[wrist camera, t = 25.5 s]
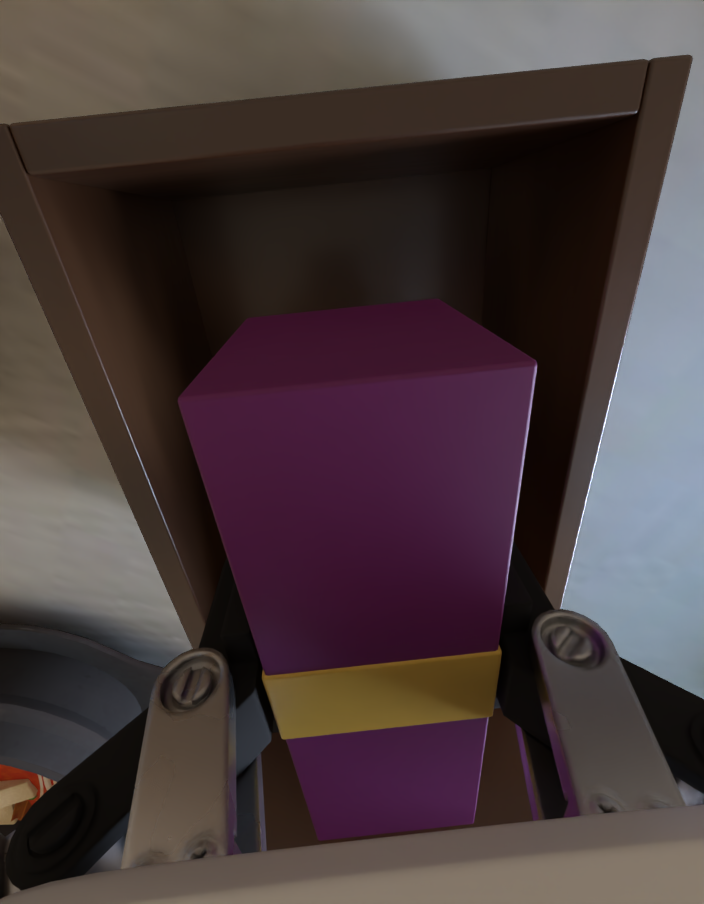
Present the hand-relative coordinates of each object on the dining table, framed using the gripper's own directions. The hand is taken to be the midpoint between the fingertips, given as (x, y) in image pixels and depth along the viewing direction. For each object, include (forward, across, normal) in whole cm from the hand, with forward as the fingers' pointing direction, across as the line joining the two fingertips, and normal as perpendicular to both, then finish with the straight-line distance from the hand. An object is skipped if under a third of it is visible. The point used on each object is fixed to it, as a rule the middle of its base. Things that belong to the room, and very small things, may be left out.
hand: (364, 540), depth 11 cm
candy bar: (0, 0, 0) cm, 0 cm away
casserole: (+12, +25, +22) cm, 36 cm away
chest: (+12, 0, 0) cm, 12 cm away
